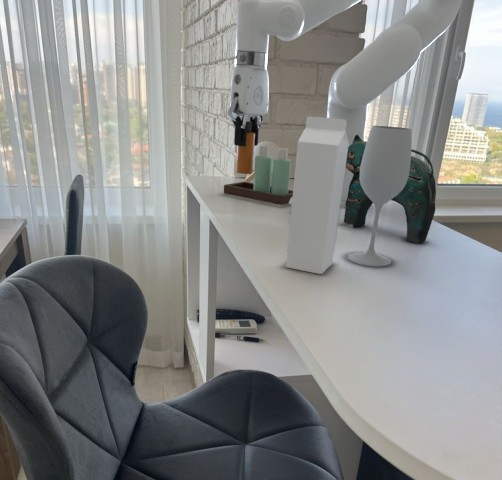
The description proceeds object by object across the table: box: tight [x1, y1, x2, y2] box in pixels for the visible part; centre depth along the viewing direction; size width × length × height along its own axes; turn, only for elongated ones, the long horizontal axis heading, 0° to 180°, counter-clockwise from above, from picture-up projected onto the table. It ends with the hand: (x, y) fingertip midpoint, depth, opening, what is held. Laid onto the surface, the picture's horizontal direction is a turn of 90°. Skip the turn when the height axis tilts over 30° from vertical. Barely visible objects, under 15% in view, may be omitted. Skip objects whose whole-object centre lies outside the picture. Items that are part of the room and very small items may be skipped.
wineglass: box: [347, 125, 413, 268], centre depth 82 cm, size 8×8×21 cm
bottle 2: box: [271, 147, 292, 195], centre depth 122 cm, size 4×4×12 cm
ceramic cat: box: [343, 135, 437, 244], centre depth 100 cm, size 20×6×20 cm, turn 45°
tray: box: [223, 181, 293, 206], centre depth 127 cm, size 18×9×3 cm, turn 54°
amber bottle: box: [235, 120, 255, 175], centre depth 125 cm, size 4×4×12 cm
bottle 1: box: [253, 145, 273, 193], centre depth 125 cm, size 4×4×12 cm
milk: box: [285, 115, 349, 275], centre depth 76 cm, size 6×6×22 cm
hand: (246, 144), depth 125 cm, fingers closed on amber bottle, 4 cm apart
